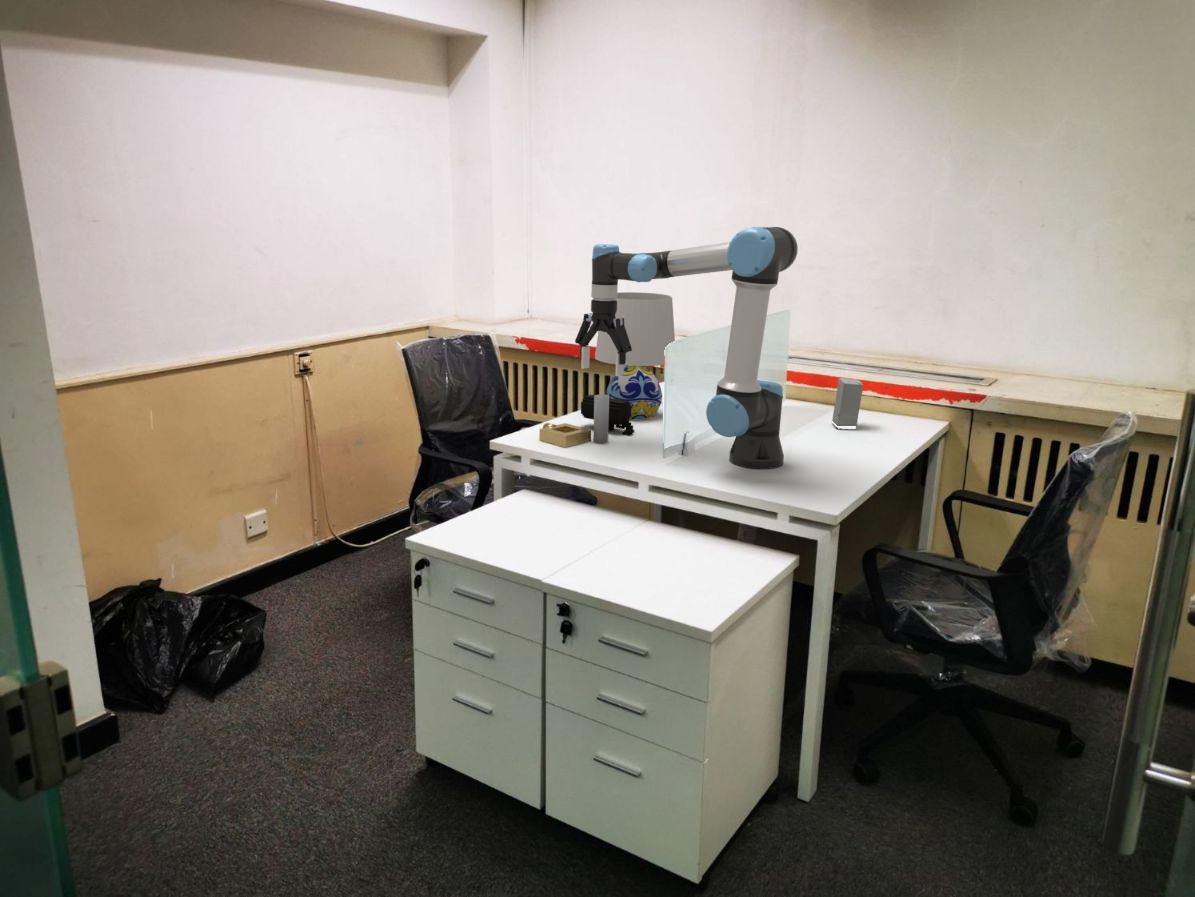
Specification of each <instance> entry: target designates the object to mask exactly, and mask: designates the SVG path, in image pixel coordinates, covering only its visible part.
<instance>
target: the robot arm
mask: <svg viewBox="0 0 1195 897" xmlns="http://www.w3.org/2000/svg"><path fill="white" fill-rule="evenodd" d="M592 248H593V249H592V258H591V264H592V265H591V270H592V271H591V277H592V278H591V291H590V292H591V294H590V296H591V298H592V299H591V301H590V312H591V313H584V314H583V319H582V320H583V321H582V323H581V325H580V328H579V331H578V333H577V335H576V337H575V339H574V343H575V344H578V345H579V347H580V350H579V351H580V352H579V355H580V357H581V362H580V363H581V365H580V366H581V368H580V369H582V370H584V369H589V368H590V361H591V360H590V359H591V358H590V357H591V356H590V354H591V347H590V345H589V344H590V342H591V341H592V340H593V338H594V337H595V336H596V334H598V331H602V332H607V334H609V336H610V337H611V339H612V341H613V343H614V345H615V347H616V349H617V350H618V353H616V364H615V373H614V375H615V376H620V375H623V373H624V364H625V363H626V361H625V360H626V353H627V352H630V351H632V348H631V345H630V341H629V338H628V335H627V332H626V329H625V326H624V318H617V319H616V317H615V314H616V312H617V300H615V299H616V298H617V292H618V290H619V288H618V284H619V281H620V280H623V281H628V282H630V281H631V282H636V283H649V282H652V280H660V279H661V280H662V279H670V278H674V277H684V276H692V275H701V274H710V273H717V272H718V273H719V272H726V271H732V273H731V281H732V282H733V283H734V285H735V287H736V288H735V295H734V303H733V311H732V317H731V324H730V333H729V339H728V341H729V342H728V345H727V353H726V354H727V355H726V359H725V362H726V363H725V369H724V376H723V378H722V379H720V380H718V381H717V384H716V391H715V392H716V393H715V396H713V397H712V398H711V399H710V400H709V401H708V404H707V405H706V410H705V411H706V414H705V415H706V420H707V422H708V424H709V426H711V428H712V430H713V431H714V432H715V433H717V434H718V435H720V436H722V437H725V438H733V437H735V438H734V441H733V443H732V445H731V448H730V450H729V454H728V455H729V460H728V461H729V462H731V463H732V464H734V465H737V466H740V467H744V468H749V469H759V470H760V469H761V470H762V469H763V470H764V469H765V470H766V469H774V468H779V467H781V466H783V465H784V460H785V456H784V452H783V447H782V446H783V445H782V443H781V439H780V430H781V429H780V428H781V421H782V420H781V418H782V409H783V407H782V406H783V399H784V396H783V392H784V391H783V390H784V389H783V385H782V384H780V383H778V382H775V381H774V382H773V381H769V380H768V381H767V380H759V379H758V375H759V369H760V364H761V363H760V361H761V355H762V350H763V349H762V348H763V342H764V335H765V326H766V321H767V316H768V309H769V303H770V302H769V301H770V295H771V290H772V289H774V288H775V287H776V286H778V281H779V274H780V273H781V272H783V271H786V270H788V268H790V267H791V266H792V265H793V264H794V262H795V260H796V258H797V256H798V249H799V248H798V243H797V239H796V237H794V234H792V232H790V231H789V230H788V229H786V228H783V227H780V226H769V227H768V226H763V227H762V226H753V227H752V226H751V227H749V228H745V229H742V230H740V231H738V232H737V233H736V234H735V235H734V236H733V238H732V239H731V240H730V241H728V242H721V243H713V244H707V245H701V246H693V247H687V248H686V247H685V248H679V249H673V250H665V251H658V252H641V253H640V252H639V253H632V252H631V253H629V252H620V247H619V245H618V244H611V243H610V244H609V243H596V244H595V245H594V246H593V247H592ZM615 325H616V327H615ZM611 329H612V330H611ZM617 332H618V333H617Z"/></svg>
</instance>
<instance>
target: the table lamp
mask: <svg viewBox="0 0 1195 897" xmlns="http://www.w3.org/2000/svg"><path fill="white" fill-rule="evenodd" d="M615 300H617V312H616V314H615V317H616V319H617V318H624V326H625V329H626V332H627V335H628V338H629V341H630V345H631V348H632V351H630V352H627V353H626V360H625V361H626V363H625V364H624V373H623V375H620V376H615V374H614V375H613V377H612V378H611V379H610V380H609V384H608V385H607V389H606V392H605V395H608V396H609V398H613V399H618V400H624V401H629V403H630V405H631V418H630V420H636V421H637V420H647V418H648V419H651V418H650V417H652V416H653V417H654V416H655V415H656V414H657V412H658V411H659V409H660V407H661V404H662V403H663V392H662V388H661V385H660V383H659V380H658V378H657V377H656V375H655V374H654V373H653V371H652V370H650V369H649V368H648V367H653V366H664V350H665V347H666V346H667V345H668V344H669V343H671V342H673V341H675V342H676V340H675V339H676V335H675V321H674V304H673V303H674V302H673V297H672V296H671V295H670V294H664V293H663V294H662V293H653V292H642V291H641V292H636V291H635V292H634V291H632V292H631V291H628V292H627V291H626V292H625V291H621V292H620V291H617V298H616V299H615ZM615 327H616V325H615ZM611 330H612V329H611ZM617 333H618V332H617ZM616 353H618V350H617V349H616V347H615V345H614V343H613V341H612V339H611V337H610V336H609V334H607V332H602V331H597V339H596V347H595V354H594V359H595V360H597V361H599V362H602V363H606V364H611V365H616ZM653 417H652V418H653Z"/></svg>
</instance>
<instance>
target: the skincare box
mask: <svg viewBox="0 0 1195 897" xmlns="http://www.w3.org/2000/svg"><path fill="white" fill-rule="evenodd" d="M863 388H864V384H863V383H862V381H861V380H859V379H858V378H850V377H838V383H837V388H836V395H835V400H834V401H835V403H834V406H833V412H832V413H833V414H832V417H831V422H832V421H833V422H834V423H835V424H836V425H837V426H856V427H857V426H858V420H859V415H860V414H859V413H860V408H861V401H862V395H863V390H864V389H863Z"/></svg>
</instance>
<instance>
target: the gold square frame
mask: <svg viewBox="0 0 1195 897" xmlns="http://www.w3.org/2000/svg"><path fill="white" fill-rule="evenodd" d="M538 439H539V441H540V442H544V443H548V444H551V445H554V446H559V447H561V448H565V449H567V448H570V447H573V446H577V445H581V444H586V443H589V442H592V429H590V428H586V427H581V426H578V425H575V424H571V423H566V422H564V423H559V424H553V423H550V422H546V423H544V424H543V425H542V428H539V438H538Z"/></svg>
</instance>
